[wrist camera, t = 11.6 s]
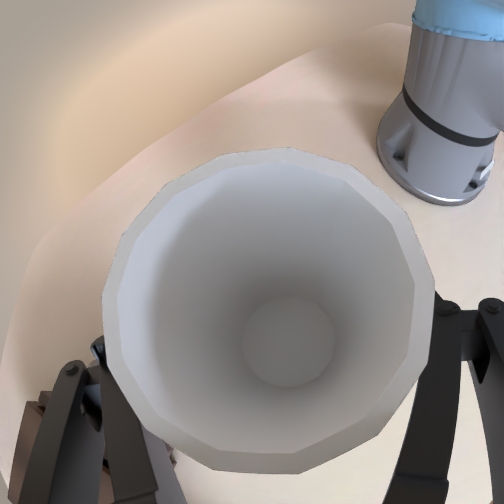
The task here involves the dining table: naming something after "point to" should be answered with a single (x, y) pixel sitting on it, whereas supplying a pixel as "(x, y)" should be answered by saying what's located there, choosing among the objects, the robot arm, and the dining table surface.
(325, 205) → the foam cup
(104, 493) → the cabinet
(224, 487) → the dining table surface
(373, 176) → the dining table surface
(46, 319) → the dining table surface
